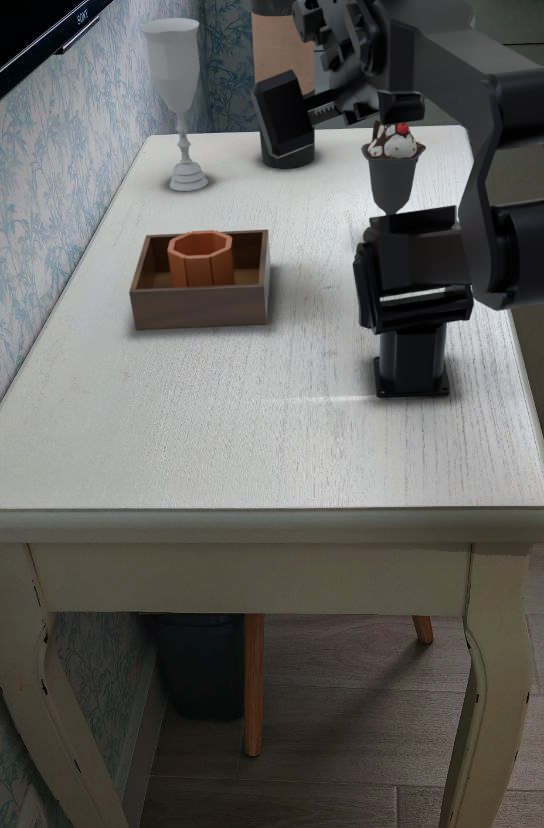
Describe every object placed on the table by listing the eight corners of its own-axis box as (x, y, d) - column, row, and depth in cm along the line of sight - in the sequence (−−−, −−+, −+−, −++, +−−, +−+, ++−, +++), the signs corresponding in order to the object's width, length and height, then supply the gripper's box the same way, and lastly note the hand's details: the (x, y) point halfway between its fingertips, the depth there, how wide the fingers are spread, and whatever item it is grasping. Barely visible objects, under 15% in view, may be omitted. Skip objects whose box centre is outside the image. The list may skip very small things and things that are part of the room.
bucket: (234, 309, 93) (229, 256, 90) (172, 312, 94) (164, 259, 90) (238, 280, 98) (233, 228, 94) (178, 283, 98) (171, 231, 94)
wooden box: (267, 329, 91) (264, 286, 88) (136, 334, 92) (128, 292, 89) (271, 269, 101) (268, 229, 97) (152, 275, 101) (145, 234, 98)
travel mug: (285, 173, 120) (276, -5, 106) (249, 159, 125) (236, -13, 111) (328, 157, 124) (325, -18, 109) (291, 144, 128) (284, -26, 114)
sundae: (417, 256, 100) (425, 107, 90) (357, 254, 102) (357, 107, 91) (423, 230, 105) (431, 86, 94) (364, 229, 106) (366, 86, 96)
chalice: (151, 184, 121) (128, 27, 108) (191, 169, 124) (173, 15, 111) (185, 198, 116) (165, 37, 104) (226, 182, 119) (211, 23, 107)
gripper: (458, -83, 73) (400, -24, 87) (240, 1, 72) (218, 46, 87) (493, 69, 77) (432, 101, 91) (287, 149, 76) (259, 169, 91)
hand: (336, 102), depth 90 cm, fingers open, 9 cm apart
